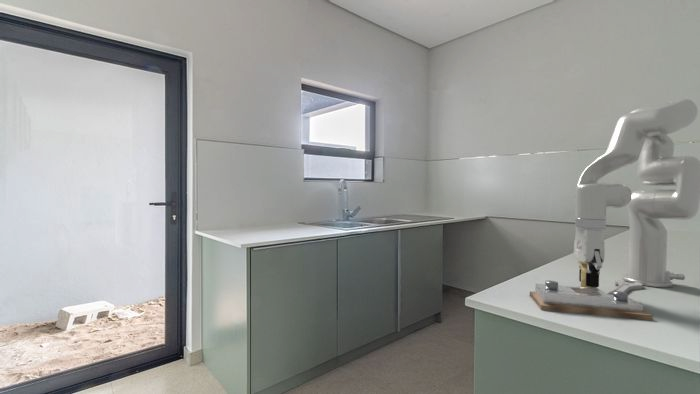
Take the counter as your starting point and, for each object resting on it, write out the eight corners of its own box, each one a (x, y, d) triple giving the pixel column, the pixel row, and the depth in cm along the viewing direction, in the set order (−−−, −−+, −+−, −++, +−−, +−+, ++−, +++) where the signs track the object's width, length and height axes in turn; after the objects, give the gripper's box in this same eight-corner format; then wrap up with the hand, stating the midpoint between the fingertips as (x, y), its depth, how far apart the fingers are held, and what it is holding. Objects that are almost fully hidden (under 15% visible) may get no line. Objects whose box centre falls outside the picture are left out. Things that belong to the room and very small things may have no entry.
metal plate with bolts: (625, 301, 89) (626, 283, 89) (642, 311, 81) (643, 292, 81) (535, 293, 95) (535, 277, 95) (543, 303, 87) (543, 285, 87)
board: (626, 303, 91) (626, 299, 91) (652, 320, 79) (652, 315, 79) (529, 295, 97) (529, 291, 97) (541, 309, 86) (541, 305, 86)
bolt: (595, 290, 102) (595, 259, 102) (603, 296, 97) (604, 262, 96) (574, 289, 104) (575, 257, 103) (581, 294, 98) (582, 261, 98)
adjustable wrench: (615, 303, 93) (615, 297, 93) (589, 297, 98) (589, 291, 98) (644, 288, 107) (644, 282, 107) (620, 283, 112) (620, 278, 112)
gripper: (566, 221, 109) (564, 276, 109) (587, 227, 93) (585, 291, 93) (592, 222, 107) (591, 278, 107) (619, 228, 91) (617, 293, 91)
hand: (588, 283), depth 100 cm, fingers closed on bolt, 4 cm apart
